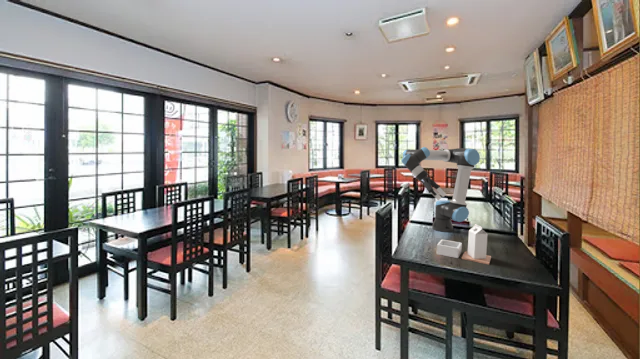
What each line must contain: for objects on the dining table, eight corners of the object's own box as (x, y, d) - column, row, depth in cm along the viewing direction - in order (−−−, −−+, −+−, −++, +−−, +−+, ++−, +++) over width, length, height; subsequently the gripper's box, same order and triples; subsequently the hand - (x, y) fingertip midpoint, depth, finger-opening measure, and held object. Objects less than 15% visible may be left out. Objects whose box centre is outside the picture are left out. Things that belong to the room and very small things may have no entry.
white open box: (441, 248, 185) (441, 239, 184) (461, 252, 178) (461, 242, 177) (436, 253, 175) (436, 244, 175) (457, 258, 168) (458, 248, 168)
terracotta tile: (464, 252, 177) (465, 251, 177) (491, 257, 169) (491, 256, 169) (461, 259, 167) (461, 257, 167) (489, 264, 159) (489, 262, 159)
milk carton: (478, 254, 172) (480, 223, 169) (486, 259, 165) (488, 227, 162) (467, 254, 171) (469, 223, 169) (474, 259, 164) (475, 227, 162)
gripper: (421, 175, 205) (442, 198, 198) (409, 178, 185) (433, 204, 178) (429, 168, 201) (450, 191, 194) (418, 171, 181) (442, 196, 174)
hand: (442, 197), depth 186 cm, fingers open, 13 cm apart
